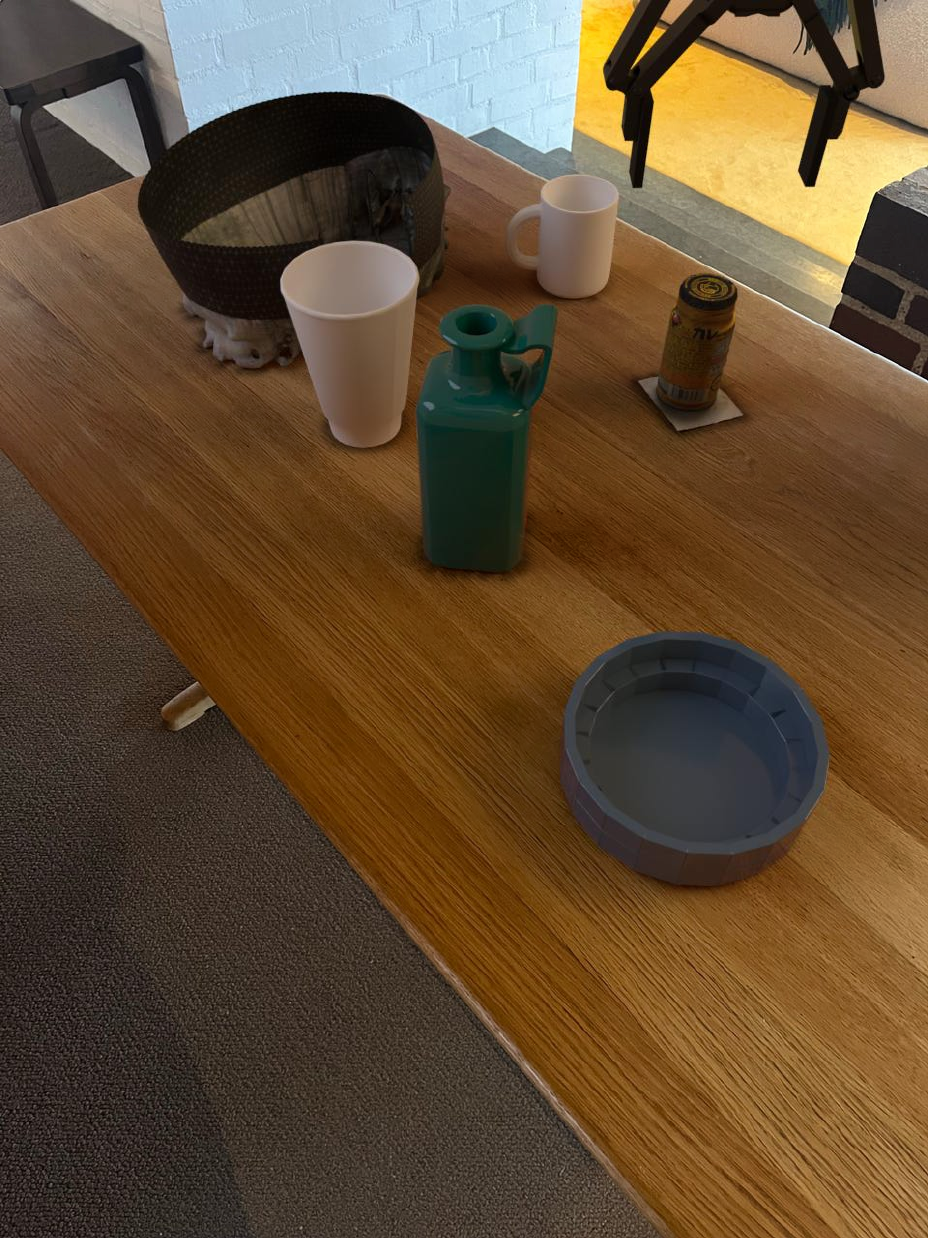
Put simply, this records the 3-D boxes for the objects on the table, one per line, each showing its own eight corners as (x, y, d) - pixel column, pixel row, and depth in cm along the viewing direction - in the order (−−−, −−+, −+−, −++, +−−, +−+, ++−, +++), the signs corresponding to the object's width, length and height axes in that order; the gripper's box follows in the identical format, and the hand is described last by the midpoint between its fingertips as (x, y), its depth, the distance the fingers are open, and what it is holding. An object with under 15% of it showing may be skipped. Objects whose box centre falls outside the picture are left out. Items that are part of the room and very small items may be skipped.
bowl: (784, 678, 74) (803, 634, 70) (828, 895, 63) (854, 859, 59) (556, 671, 75) (561, 627, 71) (561, 885, 64) (567, 848, 60)
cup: (369, 371, 99) (354, 225, 87) (451, 422, 94) (448, 274, 82) (280, 425, 94) (250, 277, 81) (361, 483, 89) (343, 334, 76)
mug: (505, 302, 107) (507, 214, 99) (501, 262, 112) (503, 175, 104) (612, 300, 107) (623, 211, 99) (604, 260, 112) (613, 172, 104)
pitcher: (420, 568, 82) (406, 349, 65) (435, 499, 87) (426, 280, 70) (534, 579, 81) (550, 361, 64) (543, 509, 86) (560, 290, 69)
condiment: (700, 367, 99) (724, 260, 90) (743, 416, 94) (772, 308, 85) (637, 382, 98) (654, 275, 88) (676, 433, 93) (699, 326, 83)
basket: (519, 327, 104) (525, 180, 91) (200, 409, 96) (159, 259, 83) (424, 206, 120) (418, 67, 108) (145, 267, 112) (104, 124, 99)
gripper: (968, -173, 62) (865, 155, 79) (584, -169, 63) (561, 157, 79) (1009, -141, 58) (890, 201, 74) (594, -137, 58) (567, 203, 74)
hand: (720, 179), depth 77 cm, fingers open, 13 cm apart
